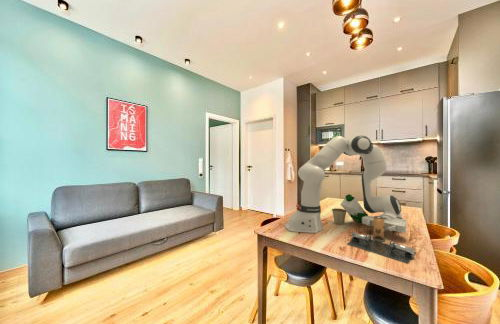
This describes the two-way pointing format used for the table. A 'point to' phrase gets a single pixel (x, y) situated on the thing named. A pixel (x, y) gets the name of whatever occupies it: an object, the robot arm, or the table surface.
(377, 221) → the amber capped cylinder
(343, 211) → the flower pot
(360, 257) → the table surface
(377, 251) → the shaft bench
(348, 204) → the milk carton
